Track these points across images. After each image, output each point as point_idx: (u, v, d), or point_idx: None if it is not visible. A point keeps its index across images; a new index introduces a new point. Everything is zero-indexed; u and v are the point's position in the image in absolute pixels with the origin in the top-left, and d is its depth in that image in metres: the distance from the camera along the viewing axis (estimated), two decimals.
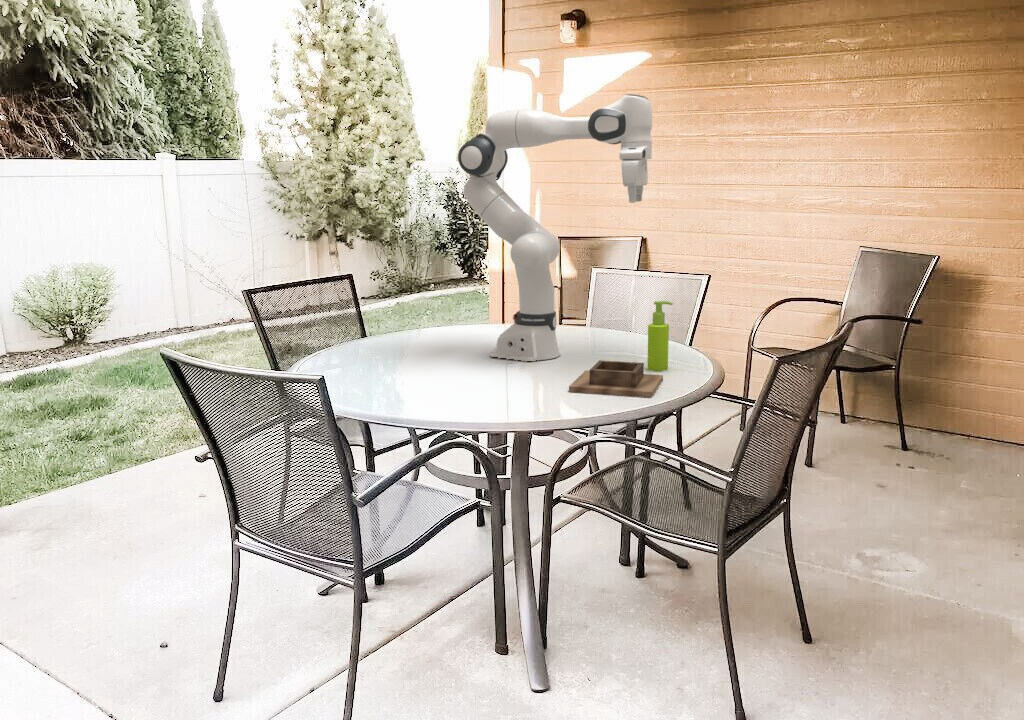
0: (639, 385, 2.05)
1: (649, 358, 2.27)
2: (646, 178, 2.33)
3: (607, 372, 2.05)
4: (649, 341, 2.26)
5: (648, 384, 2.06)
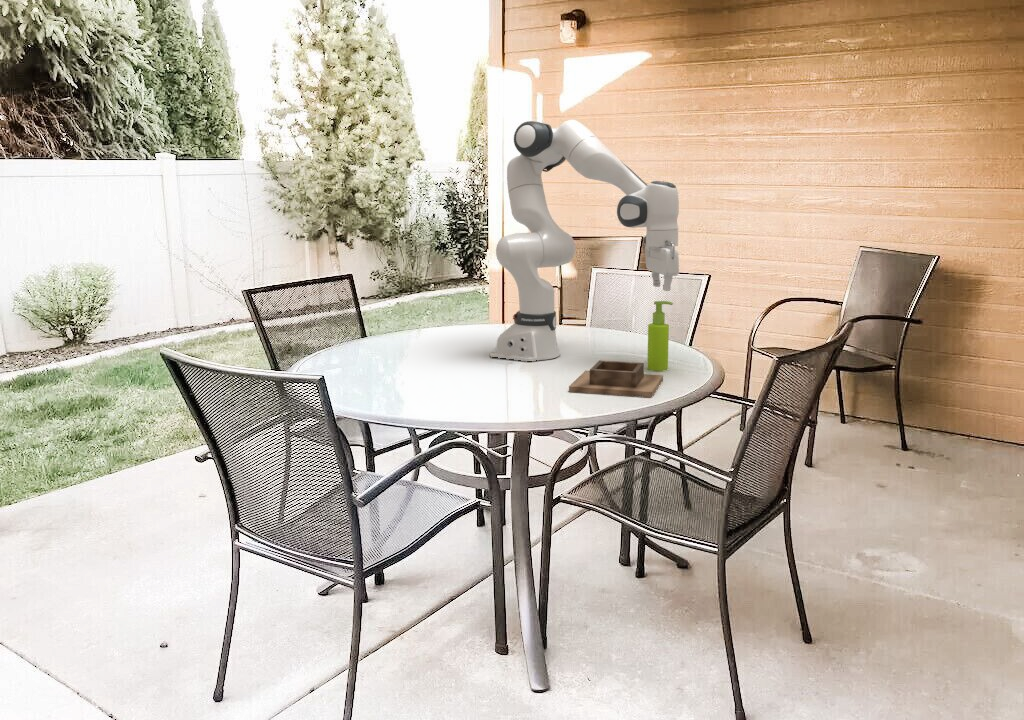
0: (639, 385, 2.05)
1: (649, 358, 2.27)
2: (663, 268, 2.14)
3: (607, 372, 2.05)
4: (649, 341, 2.26)
5: (648, 384, 2.06)
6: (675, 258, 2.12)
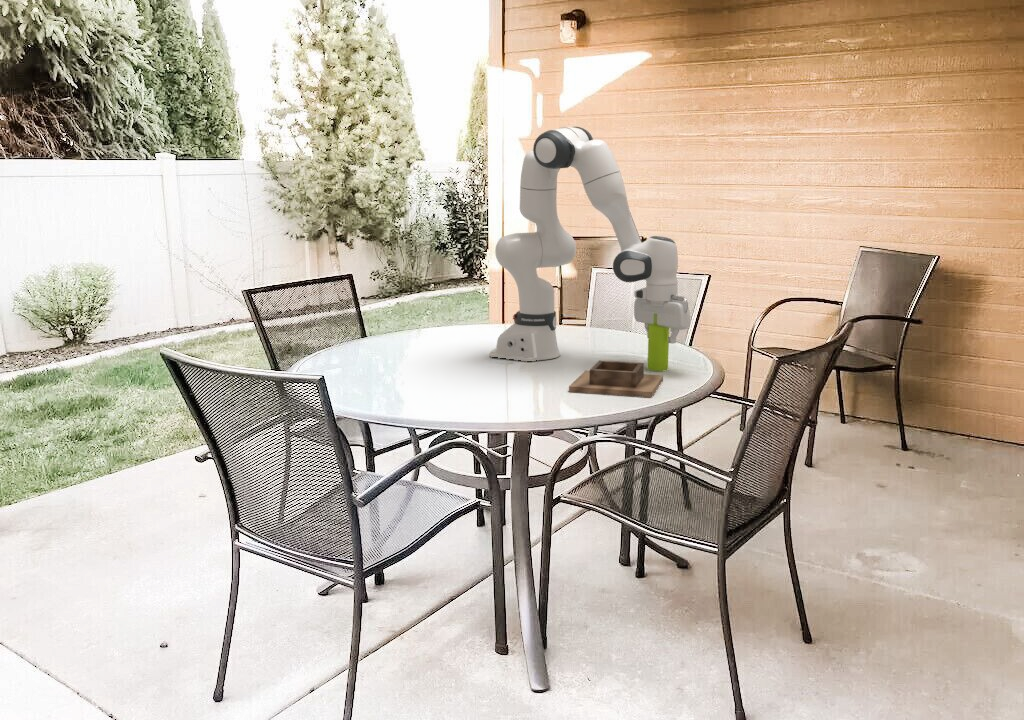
0: (639, 385, 2.05)
1: (649, 358, 2.27)
2: (675, 322, 2.18)
3: (607, 372, 2.05)
4: (649, 341, 2.26)
5: (648, 384, 2.06)
6: (687, 312, 2.17)
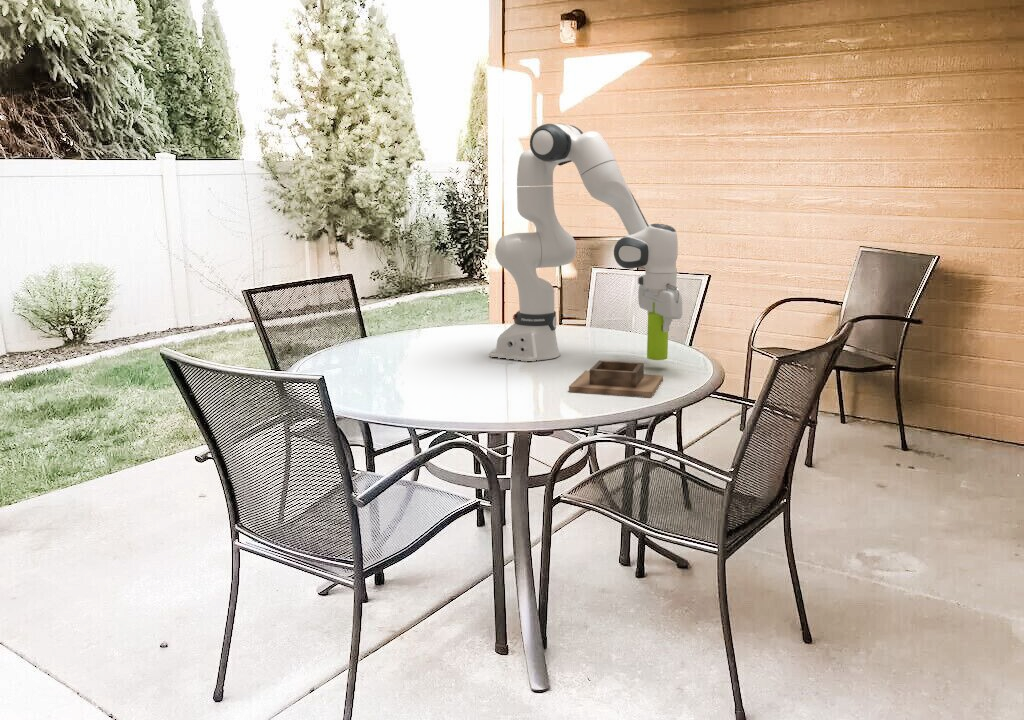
0: (639, 385, 2.05)
1: (648, 346, 2.27)
2: (667, 311, 2.17)
3: (607, 372, 2.05)
4: (648, 329, 2.26)
5: (648, 384, 2.06)
6: (679, 302, 2.15)
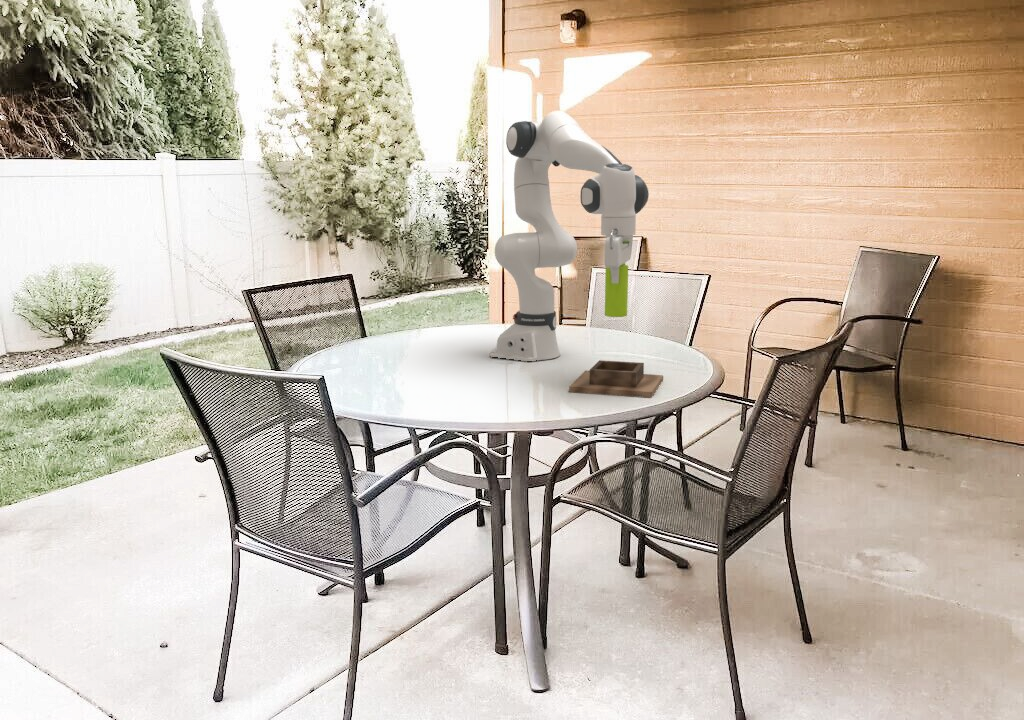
0: (639, 385, 2.05)
1: None
2: None
3: (607, 372, 2.05)
4: None
5: (648, 384, 2.06)
6: (614, 248, 1.93)
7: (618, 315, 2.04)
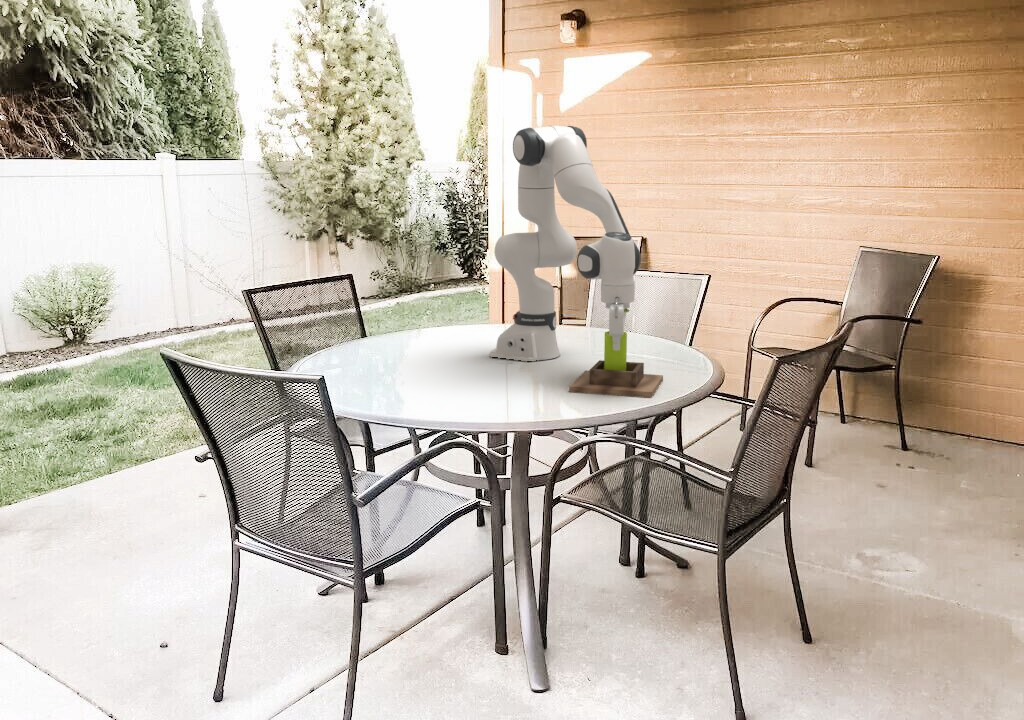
0: (639, 385, 2.05)
1: None
2: None
3: (607, 372, 2.05)
4: None
5: (648, 384, 2.06)
6: (619, 317, 1.97)
7: None
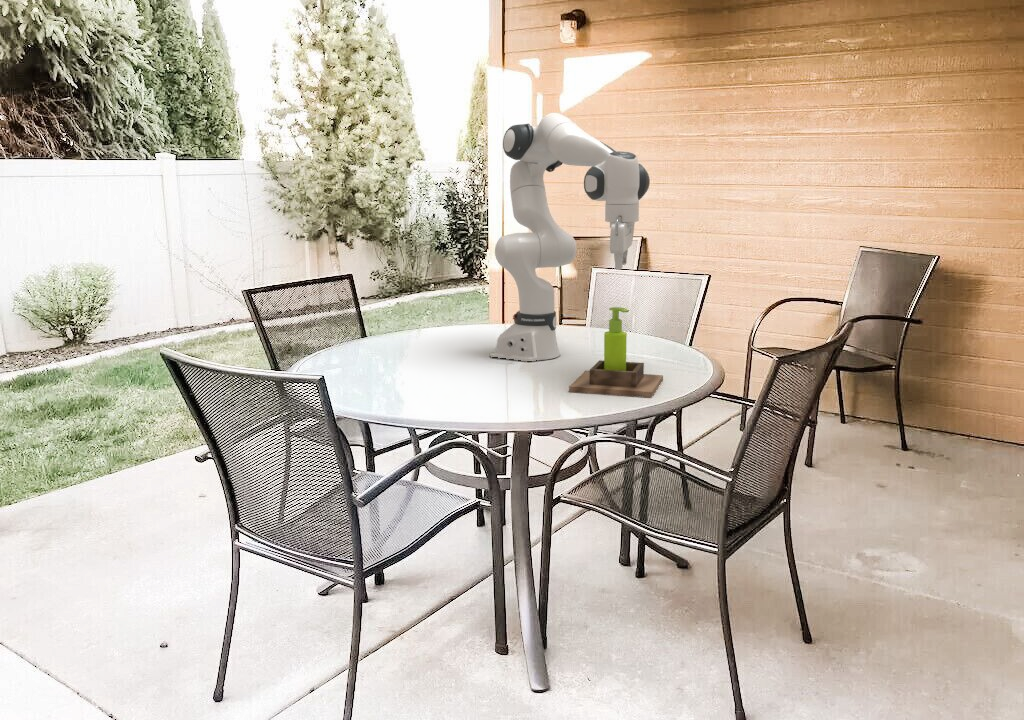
0: (639, 385, 2.05)
1: None
2: None
3: (607, 372, 2.05)
4: None
5: (648, 384, 2.06)
6: (619, 235, 1.99)
7: None
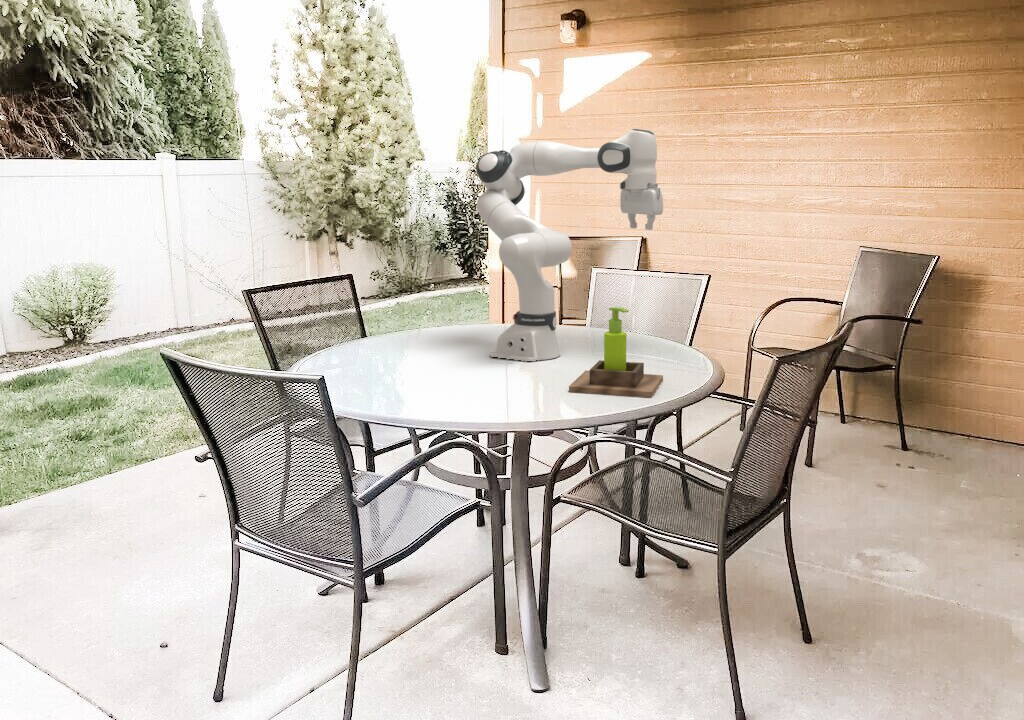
0: (639, 385, 2.05)
1: None
2: (649, 208, 2.34)
3: (607, 372, 2.05)
4: None
5: (648, 384, 2.06)
6: (660, 198, 2.32)
7: None
